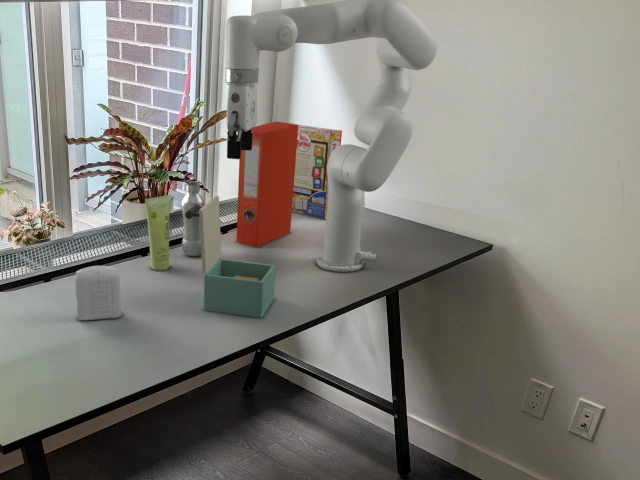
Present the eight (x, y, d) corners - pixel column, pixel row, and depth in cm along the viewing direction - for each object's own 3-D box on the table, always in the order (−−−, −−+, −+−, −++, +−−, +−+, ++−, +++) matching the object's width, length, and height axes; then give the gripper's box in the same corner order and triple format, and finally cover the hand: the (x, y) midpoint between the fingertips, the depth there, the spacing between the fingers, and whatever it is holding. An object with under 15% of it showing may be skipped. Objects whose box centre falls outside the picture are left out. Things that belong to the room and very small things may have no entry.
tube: (164, 272, 195) (163, 200, 185) (147, 270, 197) (144, 198, 187) (171, 265, 200) (170, 194, 190) (154, 263, 201) (152, 192, 192)
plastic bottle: (196, 260, 203) (195, 188, 193) (176, 255, 207) (175, 184, 197) (209, 253, 208) (210, 183, 198) (190, 249, 211) (190, 179, 201)
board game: (335, 216, 239) (343, 130, 226) (324, 220, 235) (332, 133, 222) (285, 204, 251) (290, 122, 238) (273, 208, 247) (278, 124, 234)
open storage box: (273, 298, 179) (275, 264, 175) (261, 318, 169) (263, 282, 165) (219, 291, 183) (219, 258, 179) (204, 310, 174) (204, 275, 169)
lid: (218, 196, 172) (197, 195, 173) (202, 209, 162) (179, 209, 164) (221, 256, 179) (200, 255, 180) (205, 273, 169) (183, 272, 171)
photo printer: (120, 311, 173) (117, 261, 167) (122, 318, 170) (120, 268, 164) (76, 315, 171) (72, 265, 165) (78, 322, 168) (74, 271, 162)
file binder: (291, 233, 224) (298, 124, 208) (258, 247, 212) (263, 133, 196) (269, 228, 228) (274, 121, 212) (236, 242, 217) (239, 130, 201)
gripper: (247, 82, 157) (244, 163, 165) (267, 72, 171) (264, 148, 179) (214, 81, 159) (213, 161, 167) (236, 71, 173) (235, 146, 182)
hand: (239, 154), depth 173 cm, fingers open, 9 cm apart
